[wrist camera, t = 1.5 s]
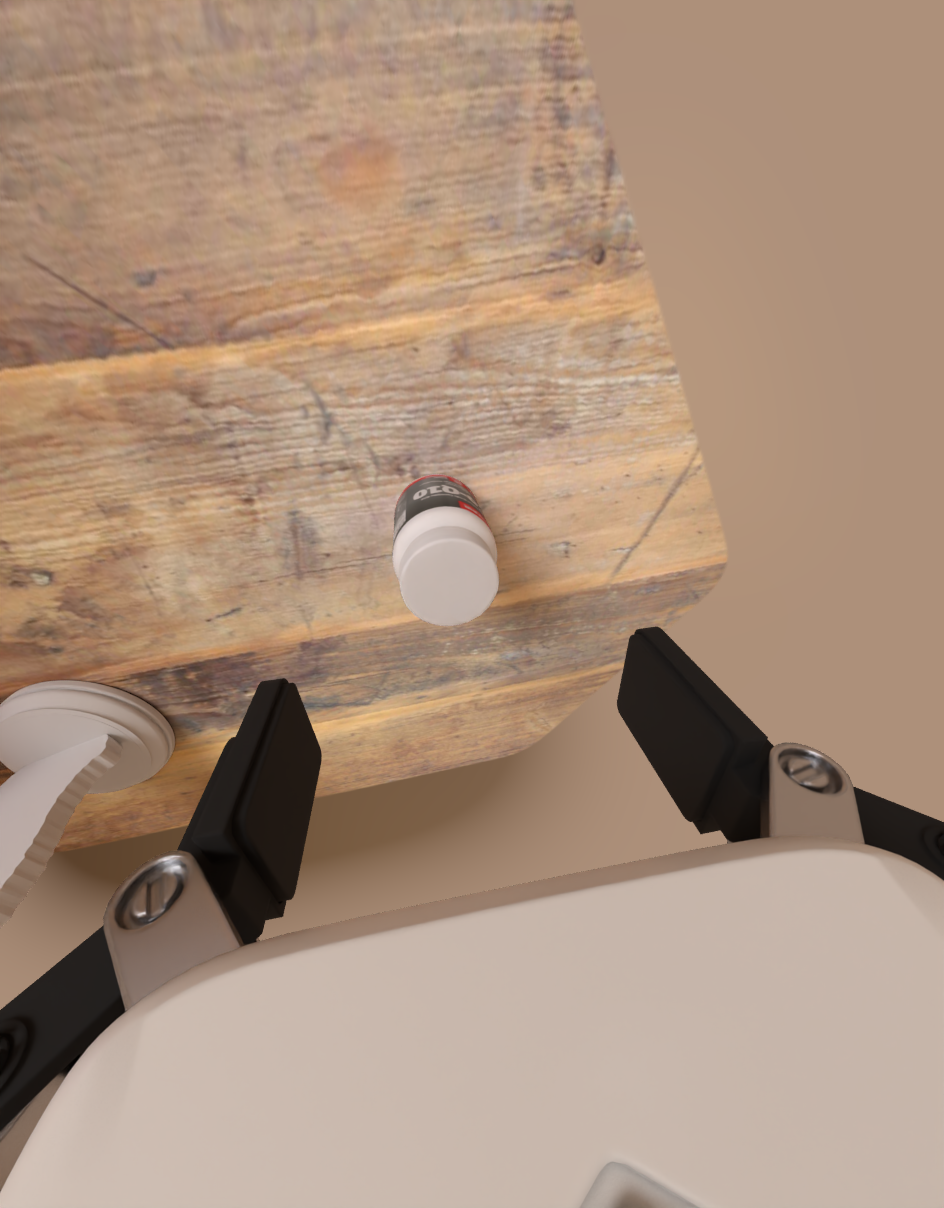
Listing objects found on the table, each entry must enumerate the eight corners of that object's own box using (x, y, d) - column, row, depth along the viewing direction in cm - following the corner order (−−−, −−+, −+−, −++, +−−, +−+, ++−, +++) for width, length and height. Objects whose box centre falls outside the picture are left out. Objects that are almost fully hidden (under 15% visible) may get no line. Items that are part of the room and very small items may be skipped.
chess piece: (-42, 713, 25) (-497, 1080, 12) (95, 658, 24) (-234, 983, 12) (91, 793, 30) (-129, 1105, 18) (206, 749, 30) (63, 1040, 17)
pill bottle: (486, 483, 22) (526, 542, 15) (465, 558, 24) (491, 640, 17) (402, 462, 21) (403, 516, 14) (387, 543, 23) (381, 625, 16)
